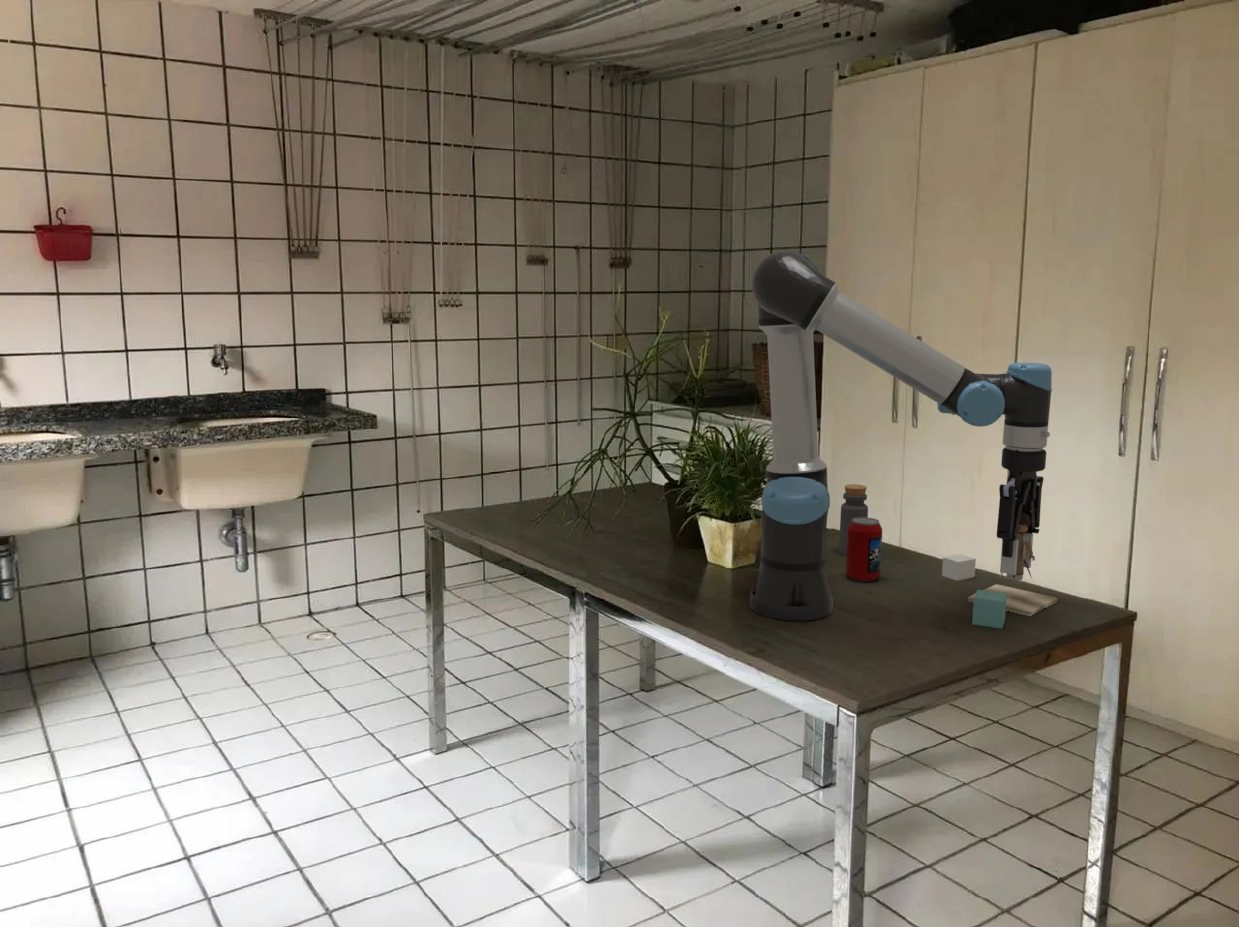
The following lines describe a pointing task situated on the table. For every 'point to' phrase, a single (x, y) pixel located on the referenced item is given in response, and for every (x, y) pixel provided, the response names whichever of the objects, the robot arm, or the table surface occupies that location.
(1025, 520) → the toy
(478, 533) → the table surface
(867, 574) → the beverage can
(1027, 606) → the board
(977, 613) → the teal block
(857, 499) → the bottle
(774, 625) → the table surface
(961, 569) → the white block
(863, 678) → the table surface
